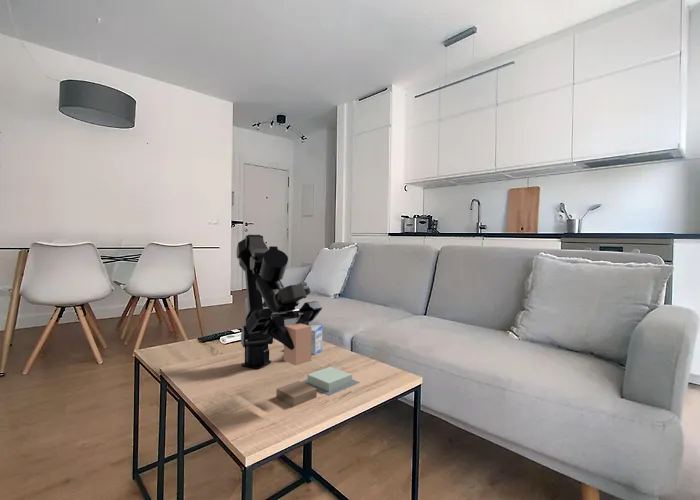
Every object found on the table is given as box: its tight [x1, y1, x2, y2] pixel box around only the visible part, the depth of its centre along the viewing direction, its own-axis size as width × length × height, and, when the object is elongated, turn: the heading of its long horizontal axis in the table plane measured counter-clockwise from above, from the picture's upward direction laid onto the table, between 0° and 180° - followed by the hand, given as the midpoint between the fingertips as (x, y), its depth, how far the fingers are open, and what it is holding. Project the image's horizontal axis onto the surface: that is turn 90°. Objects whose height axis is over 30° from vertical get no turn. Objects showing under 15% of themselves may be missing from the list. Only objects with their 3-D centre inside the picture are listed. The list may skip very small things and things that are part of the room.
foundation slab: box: [307, 366, 353, 392], centre depth 91 cm, size 8×8×2 cm
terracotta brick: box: [283, 323, 312, 366], centre depth 82 cm, size 4×4×8 cm
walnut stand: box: [275, 380, 318, 407], centre depth 82 cm, size 6×6×3 cm
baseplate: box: [301, 378, 361, 397], centre depth 91 cm, size 11×11×1 cm
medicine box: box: [309, 324, 323, 356], centre depth 117 cm, size 8×4×9 cm, turn 168°
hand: (301, 346), depth 81 cm, fingers closed on terracotta brick, 4 cm apart
